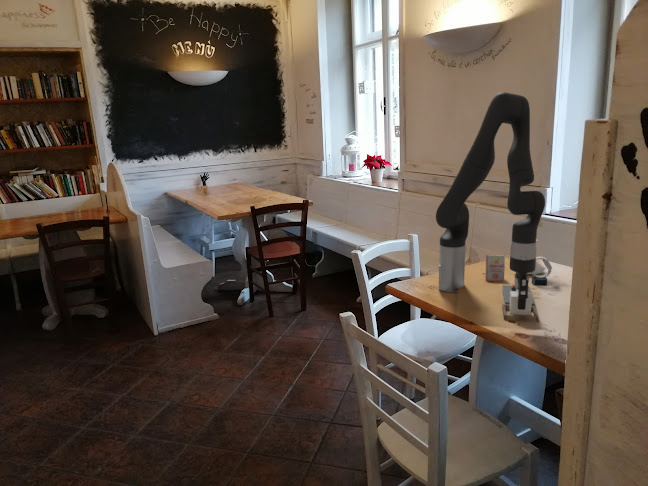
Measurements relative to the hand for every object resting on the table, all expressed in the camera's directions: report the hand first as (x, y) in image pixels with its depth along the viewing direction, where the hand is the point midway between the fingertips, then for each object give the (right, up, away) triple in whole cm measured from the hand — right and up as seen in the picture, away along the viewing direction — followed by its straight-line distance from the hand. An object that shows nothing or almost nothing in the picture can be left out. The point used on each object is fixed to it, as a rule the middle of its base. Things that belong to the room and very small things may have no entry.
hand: (520, 304), depth 162 cm
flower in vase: (+22, +7, +47) cm, 52 cm away
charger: (0, -4, +1) cm, 5 cm away
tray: (0, -5, +1) cm, 5 cm away
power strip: (+4, -1, +14) cm, 15 cm away
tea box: (+5, +5, +39) cm, 40 cm away
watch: (+19, +3, +31) cm, 37 cm away
